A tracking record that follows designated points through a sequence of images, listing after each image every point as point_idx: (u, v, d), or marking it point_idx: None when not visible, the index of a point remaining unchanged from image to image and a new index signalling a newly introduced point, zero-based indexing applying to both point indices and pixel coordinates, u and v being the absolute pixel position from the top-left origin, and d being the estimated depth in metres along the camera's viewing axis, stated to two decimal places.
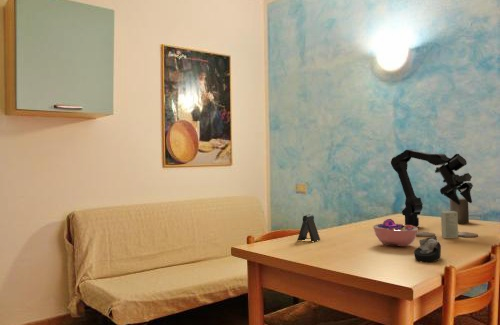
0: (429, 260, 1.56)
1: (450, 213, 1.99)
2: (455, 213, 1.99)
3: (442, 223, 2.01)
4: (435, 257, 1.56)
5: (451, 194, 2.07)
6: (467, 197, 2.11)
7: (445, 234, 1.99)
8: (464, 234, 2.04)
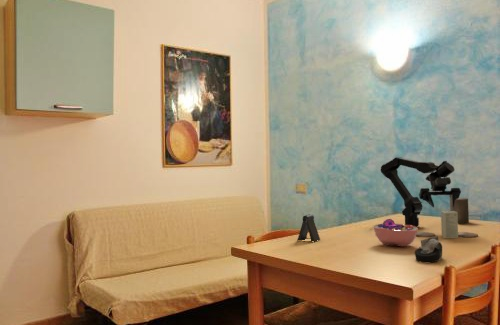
0: (429, 260, 1.55)
1: (450, 213, 1.99)
2: (455, 213, 1.99)
3: (442, 223, 2.01)
4: (435, 258, 1.55)
5: (428, 198, 2.14)
6: (451, 201, 2.11)
7: (445, 234, 1.99)
8: (464, 234, 2.04)
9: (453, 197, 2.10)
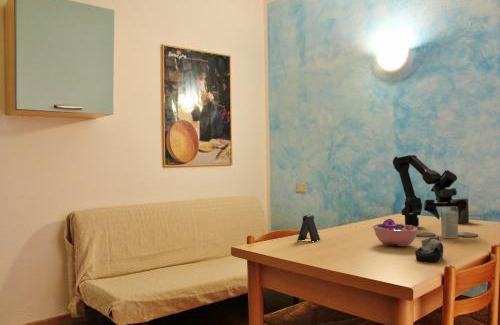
0: (429, 260, 1.55)
1: (450, 213, 1.99)
2: (455, 213, 1.99)
3: (442, 223, 2.01)
4: (436, 258, 1.55)
5: (433, 209, 2.06)
6: (457, 213, 2.03)
7: (445, 234, 1.99)
8: (464, 234, 2.04)
9: (459, 209, 2.03)
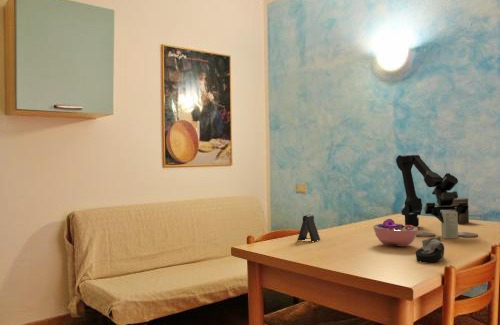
0: (429, 261, 1.55)
1: (450, 213, 1.99)
2: (455, 213, 1.99)
3: (442, 223, 2.01)
4: (436, 258, 1.55)
5: (437, 213, 2.04)
6: None
7: (445, 234, 1.99)
8: (464, 234, 2.04)
9: (457, 212, 2.01)
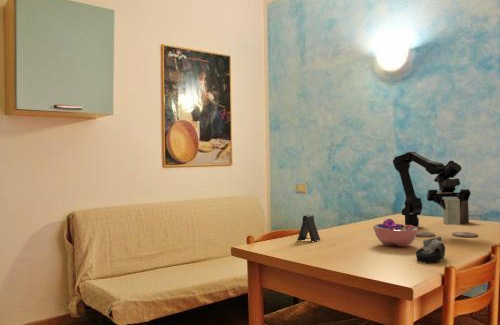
0: (429, 261, 1.55)
1: (452, 200, 1.99)
2: (457, 200, 1.99)
3: (444, 210, 2.02)
4: (436, 258, 1.54)
5: (439, 200, 2.05)
6: None
7: (447, 221, 2.00)
8: (464, 234, 2.04)
9: None
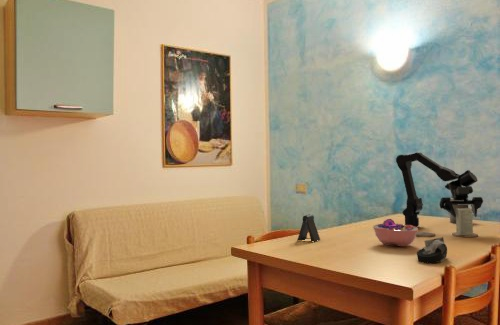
0: (429, 261, 1.54)
1: (465, 210, 2.03)
2: (470, 210, 2.02)
3: (457, 220, 2.05)
4: (436, 259, 1.54)
5: (449, 207, 2.09)
6: (473, 211, 2.05)
7: (460, 231, 2.03)
8: None
9: (475, 207, 2.05)
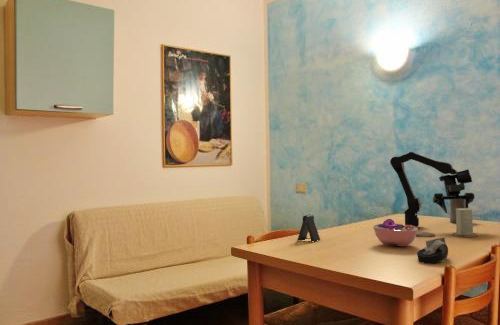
0: (429, 261, 1.54)
1: (465, 210, 2.03)
2: (470, 210, 2.02)
3: (457, 220, 2.05)
4: (436, 259, 1.53)
5: (441, 203, 2.19)
6: (464, 207, 2.15)
7: (460, 231, 2.03)
8: None
9: (466, 203, 2.14)
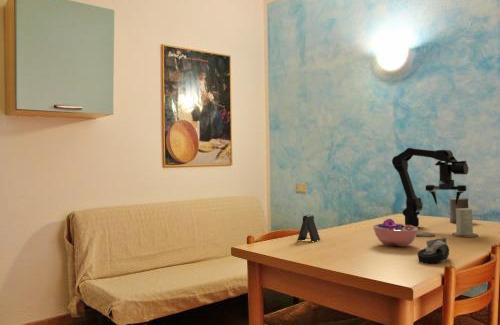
0: (429, 261, 1.54)
1: (465, 210, 2.03)
2: (470, 210, 2.02)
3: (457, 220, 2.05)
4: (436, 259, 1.53)
5: None
6: (456, 198, 2.18)
7: (460, 231, 2.03)
8: None
9: (457, 196, 2.16)
